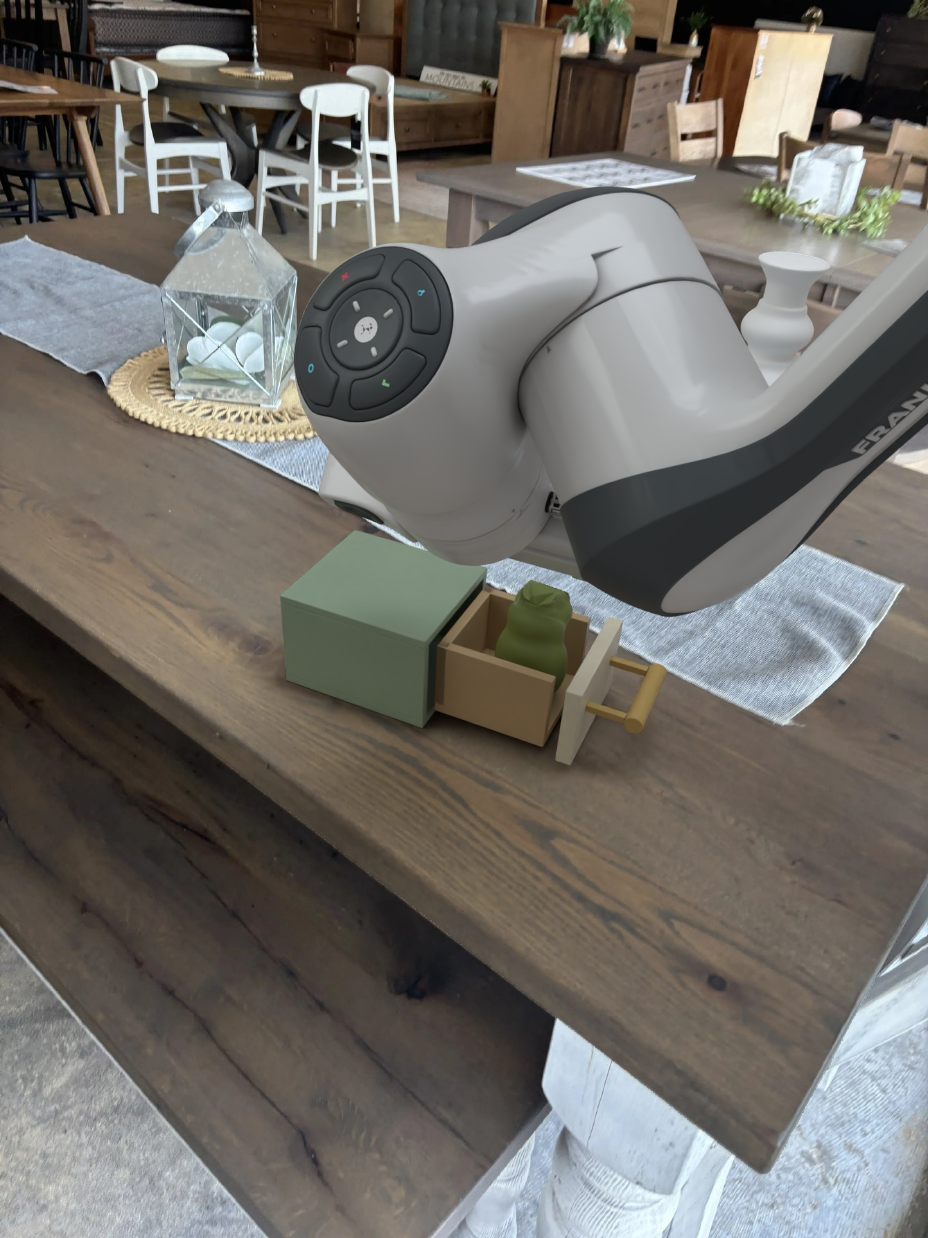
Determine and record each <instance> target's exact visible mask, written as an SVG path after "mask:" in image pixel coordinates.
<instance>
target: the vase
mask: <svg viewBox="0 0 928 1238" xmlns="http://www.w3.org/2000/svg"><path fill="white" fill-rule="evenodd" d="M757 260H758V262H759V265H760V267H761V269H762V271H763V273H764V276H765V281H766V284H765V288H764V292H763V296H762V297H761V298H760V299H759V300H758V303H757V305H756V306H755V307H754V308H752V309H751V310H749V311H748V312H747V313H746V314H745V315H744V317H743V318H742V320H741V322H740V334H741V335H742V337H743V339H744V341H745V343H746V345H747V347H748V349H749V350H750V352H751V354H752V356H753V358H754V360H755V362H756V363H757V365H758V367H759V369H760V371H761V373H762V375H763V377H764V378H765V380H766V382H767V384H768V386H769V387H770V386H771V385H772V384H773V383H774V382H775V381H776V380H777V379H778V378H779V377H780V376H781V375H782V374H783V373H784V371H785V370H786V369H787V368H788V367H789V366H790V365H791V364H792V363H793V362H794V361H795V360H796V359H797V358H798V357H799V356H798V355H797V353H798V352H799V351H800V350H802V349H803V348H805V347H806V346H807V345H809V344H810V342H811V341H812V339H813V337H814V333H815V327H814V324H813V322H812V319H811V318H810V317H809V314H808V310H809V309H808V305H807V304H806V303H807V299H808V296H809V292H810V290H811V287H812V286H813V285H814V284H815V283H816V282H817V281H818V280H819V279H820V278H821V277H822V276H824V275H825V274H826V273H828V272H829V270H830V269H831V264H830V263H829V262H828V261H827V260H825V259H823V258H820V257H818V256H814V255H811V254H806V253H802V252H801V253H800V252H793V251H786V250H785V251H783V250H782V251H781V250H779V251H767V252H763V253H761V254H759V256H758V258H757Z"/></svg>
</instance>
